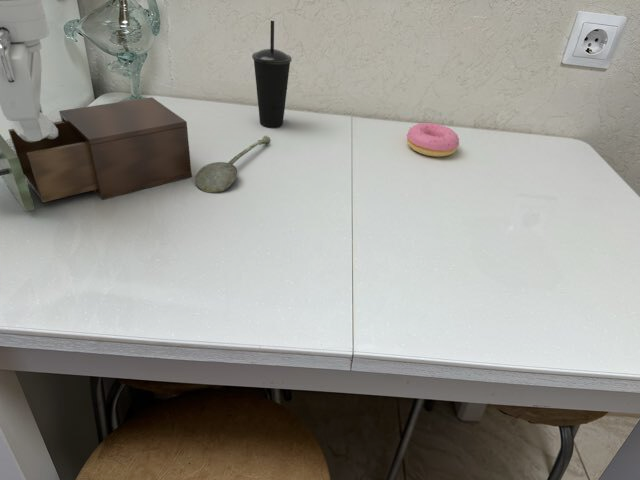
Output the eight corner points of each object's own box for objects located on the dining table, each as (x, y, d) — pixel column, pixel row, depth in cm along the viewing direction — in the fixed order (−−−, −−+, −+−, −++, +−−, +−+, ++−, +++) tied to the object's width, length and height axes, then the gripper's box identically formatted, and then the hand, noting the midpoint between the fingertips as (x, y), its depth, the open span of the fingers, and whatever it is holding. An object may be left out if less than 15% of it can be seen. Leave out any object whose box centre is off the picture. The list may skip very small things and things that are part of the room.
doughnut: (404, 155, 98) (408, 135, 96) (405, 134, 107) (408, 116, 105) (458, 163, 98) (463, 143, 96) (454, 141, 107) (459, 123, 105)
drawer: (-12, 220, 65) (-33, 167, 60) (-32, 186, 71) (-53, 135, 66) (123, 187, 76) (114, 139, 71) (96, 159, 82) (86, 113, 77)
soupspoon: (187, 190, 80) (223, 201, 79) (185, 171, 78) (222, 183, 77) (252, 139, 97) (282, 148, 95) (252, 122, 94) (283, 132, 93)
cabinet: (102, 199, 74) (88, 139, 68) (73, 168, 80) (58, 110, 75) (192, 176, 82) (186, 121, 77) (159, 149, 89) (152, 97, 83)
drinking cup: (246, 125, 102) (244, 20, 90) (263, 114, 108) (263, 14, 96) (279, 133, 100) (281, 28, 89) (295, 121, 106) (299, 21, 94)
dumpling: (25, 131, 72) (26, 103, 70) (64, 140, 73) (65, 113, 71) (0, 142, 65) (0, 112, 64) (43, 152, 67) (44, 123, 65)
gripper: (32, 42, 54) (62, 157, 62) (36, 2, 68) (60, 100, 77) (-38, 41, 52) (3, 162, 60) (-19, 0, 66) (12, 102, 74)
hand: (35, 127), depth 68 cm, fingers closed on dumpling, 6 cm apart
